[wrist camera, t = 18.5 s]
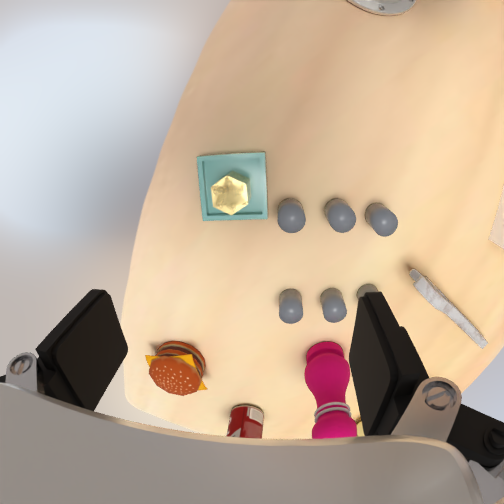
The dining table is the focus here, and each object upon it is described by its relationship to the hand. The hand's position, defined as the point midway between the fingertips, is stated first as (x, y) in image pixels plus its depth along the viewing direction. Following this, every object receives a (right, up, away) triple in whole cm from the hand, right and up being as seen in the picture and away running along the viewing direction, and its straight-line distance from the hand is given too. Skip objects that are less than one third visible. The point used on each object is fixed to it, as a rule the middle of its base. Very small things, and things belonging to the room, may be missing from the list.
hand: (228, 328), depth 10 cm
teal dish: (-1, +11, +26) cm, 29 cm away
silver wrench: (+35, -7, +31) cm, 47 cm away
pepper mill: (+13, -14, +36) cm, 41 cm away
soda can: (0, -30, +44) cm, 54 cm away
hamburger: (-12, -17, +40) cm, 44 cm away
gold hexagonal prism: (-1, +11, +26) cm, 28 cm away
